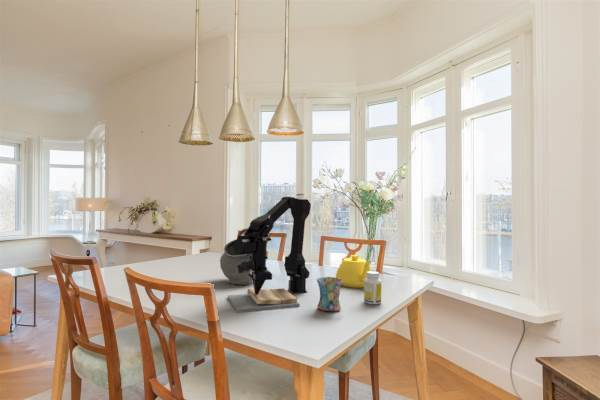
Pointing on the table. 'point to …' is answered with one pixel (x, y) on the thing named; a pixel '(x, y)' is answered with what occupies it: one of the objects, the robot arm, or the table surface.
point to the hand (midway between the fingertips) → (256, 294)
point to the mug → (329, 293)
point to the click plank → (264, 297)
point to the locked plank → (284, 296)
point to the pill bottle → (372, 288)
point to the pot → (229, 264)
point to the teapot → (353, 271)
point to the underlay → (254, 304)
